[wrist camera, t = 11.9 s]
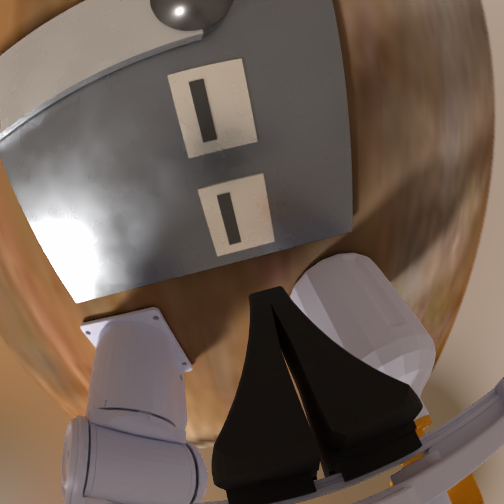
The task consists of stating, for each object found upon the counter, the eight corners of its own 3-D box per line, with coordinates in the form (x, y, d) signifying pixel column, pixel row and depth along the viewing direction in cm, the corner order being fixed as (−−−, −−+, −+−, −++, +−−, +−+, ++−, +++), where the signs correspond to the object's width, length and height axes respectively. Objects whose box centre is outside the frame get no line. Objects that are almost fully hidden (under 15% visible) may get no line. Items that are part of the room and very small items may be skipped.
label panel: (345, 223, 22) (354, 233, 21) (80, 293, 21) (75, 305, 20) (319, -18, 12) (329, -24, 10) (-10, 85, 10) (-23, 87, 9)
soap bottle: (343, 231, 23) (524, 527, 3) (390, 279, 27) (519, 489, 7) (266, 303, 25) (363, 593, 5) (325, 335, 30) (415, 546, 10)
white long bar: (-23, 159, 12) (-49, 176, 9) (-40, 110, 9) (-68, 121, 7) (235, 31, 12) (244, 22, 10) (216, -28, 10) (223, -48, 7)
